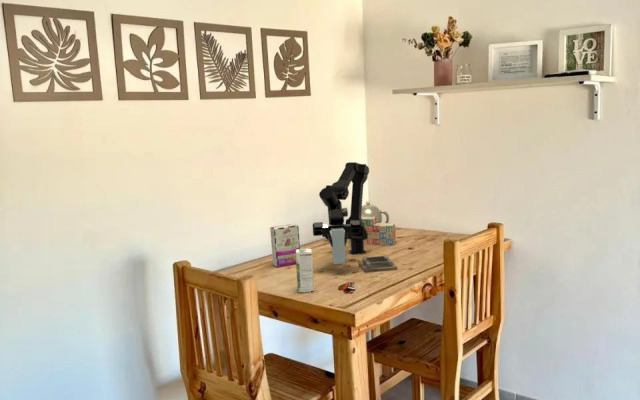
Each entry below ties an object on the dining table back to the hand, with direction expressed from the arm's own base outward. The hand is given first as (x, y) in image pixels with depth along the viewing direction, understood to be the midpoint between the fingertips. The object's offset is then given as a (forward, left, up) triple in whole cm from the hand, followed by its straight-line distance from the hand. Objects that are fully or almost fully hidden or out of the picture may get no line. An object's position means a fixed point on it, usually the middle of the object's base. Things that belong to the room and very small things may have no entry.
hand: (338, 246), depth 223 cm
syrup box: (+16, -15, -11) cm, 24 cm away
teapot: (-70, +28, -11) cm, 77 cm away
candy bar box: (-22, -19, -11) cm, 31 cm away
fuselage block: (-1, 0, -7) cm, 7 cm away
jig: (-6, +16, -11) cm, 21 cm away
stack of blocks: (-48, +23, -12) cm, 54 cm away
